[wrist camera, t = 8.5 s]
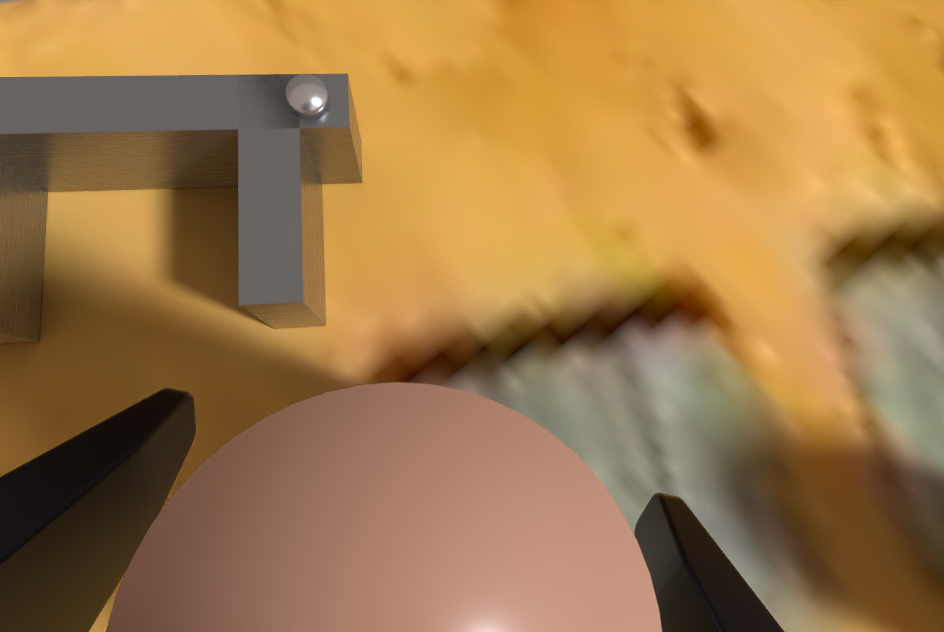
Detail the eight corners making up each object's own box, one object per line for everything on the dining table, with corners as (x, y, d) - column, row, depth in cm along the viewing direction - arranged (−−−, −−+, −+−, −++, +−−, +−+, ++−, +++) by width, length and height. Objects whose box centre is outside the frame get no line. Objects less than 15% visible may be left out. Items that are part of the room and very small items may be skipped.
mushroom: (470, 601, 16) (608, 1055, 5) (303, 561, 16) (1, 931, 4) (509, 432, 17) (705, 451, 6) (352, 392, 17) (209, 325, 5)
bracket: (367, 323, 17) (354, 295, 14) (-67, 347, 16) (-215, 323, 12) (360, 138, 19) (345, 64, 15) (-48, 147, 17) (-180, 69, 13)
